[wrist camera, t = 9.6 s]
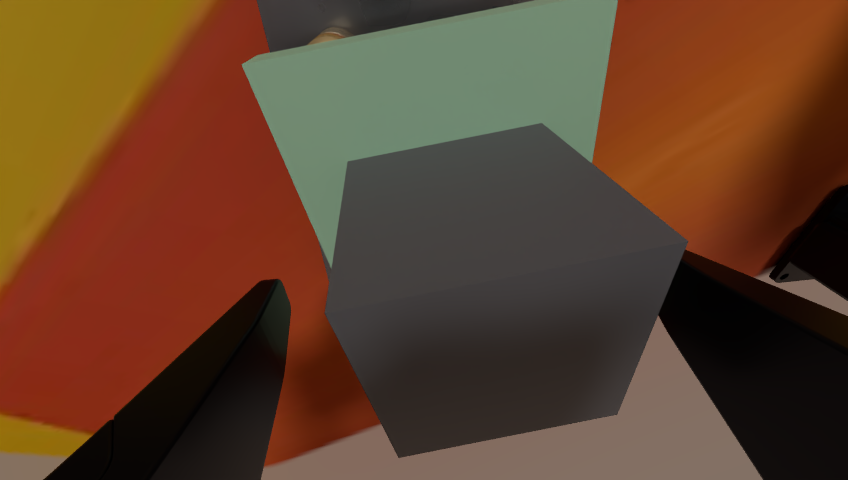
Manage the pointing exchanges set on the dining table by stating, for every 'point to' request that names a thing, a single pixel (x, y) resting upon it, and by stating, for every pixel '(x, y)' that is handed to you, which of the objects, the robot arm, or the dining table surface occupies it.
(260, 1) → the chassis
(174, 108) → the dining table surface
